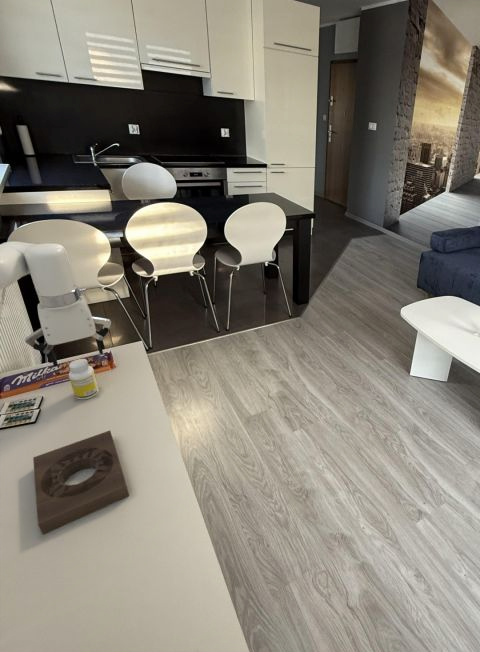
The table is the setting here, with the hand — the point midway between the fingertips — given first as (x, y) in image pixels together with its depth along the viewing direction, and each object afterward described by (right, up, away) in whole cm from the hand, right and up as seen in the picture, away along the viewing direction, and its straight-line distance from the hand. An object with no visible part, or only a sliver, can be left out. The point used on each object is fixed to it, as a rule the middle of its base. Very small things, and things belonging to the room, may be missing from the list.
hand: (78, 357), depth 100 cm
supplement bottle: (-1, -10, +5) cm, 12 cm away
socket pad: (+14, -23, -18) cm, 32 cm away
